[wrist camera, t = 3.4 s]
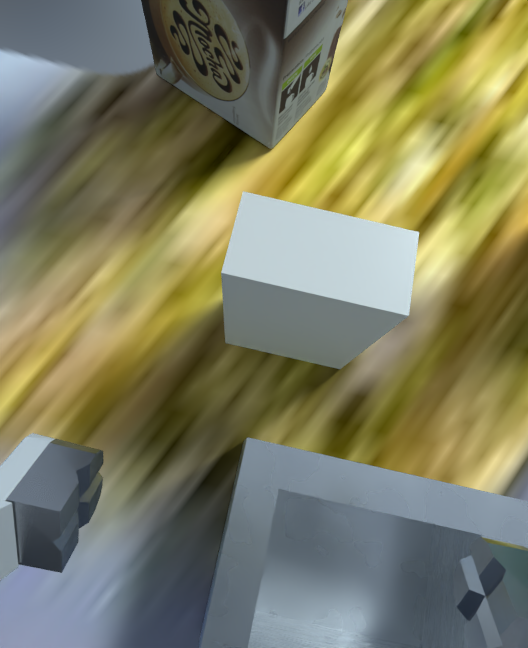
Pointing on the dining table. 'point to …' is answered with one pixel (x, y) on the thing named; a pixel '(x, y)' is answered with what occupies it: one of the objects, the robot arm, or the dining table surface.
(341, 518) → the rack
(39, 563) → the robot arm
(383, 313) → the panel
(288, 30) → the coffee box
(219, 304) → the dining table surface
